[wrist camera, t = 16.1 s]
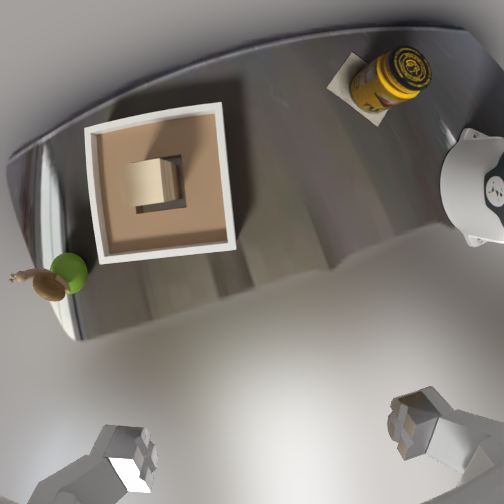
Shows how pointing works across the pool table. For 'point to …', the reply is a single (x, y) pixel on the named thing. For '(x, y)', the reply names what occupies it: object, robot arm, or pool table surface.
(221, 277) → the pool table surface
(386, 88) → the condiment
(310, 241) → the pool table surface
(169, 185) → the beech peg
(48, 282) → the snail figurine
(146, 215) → the open box
